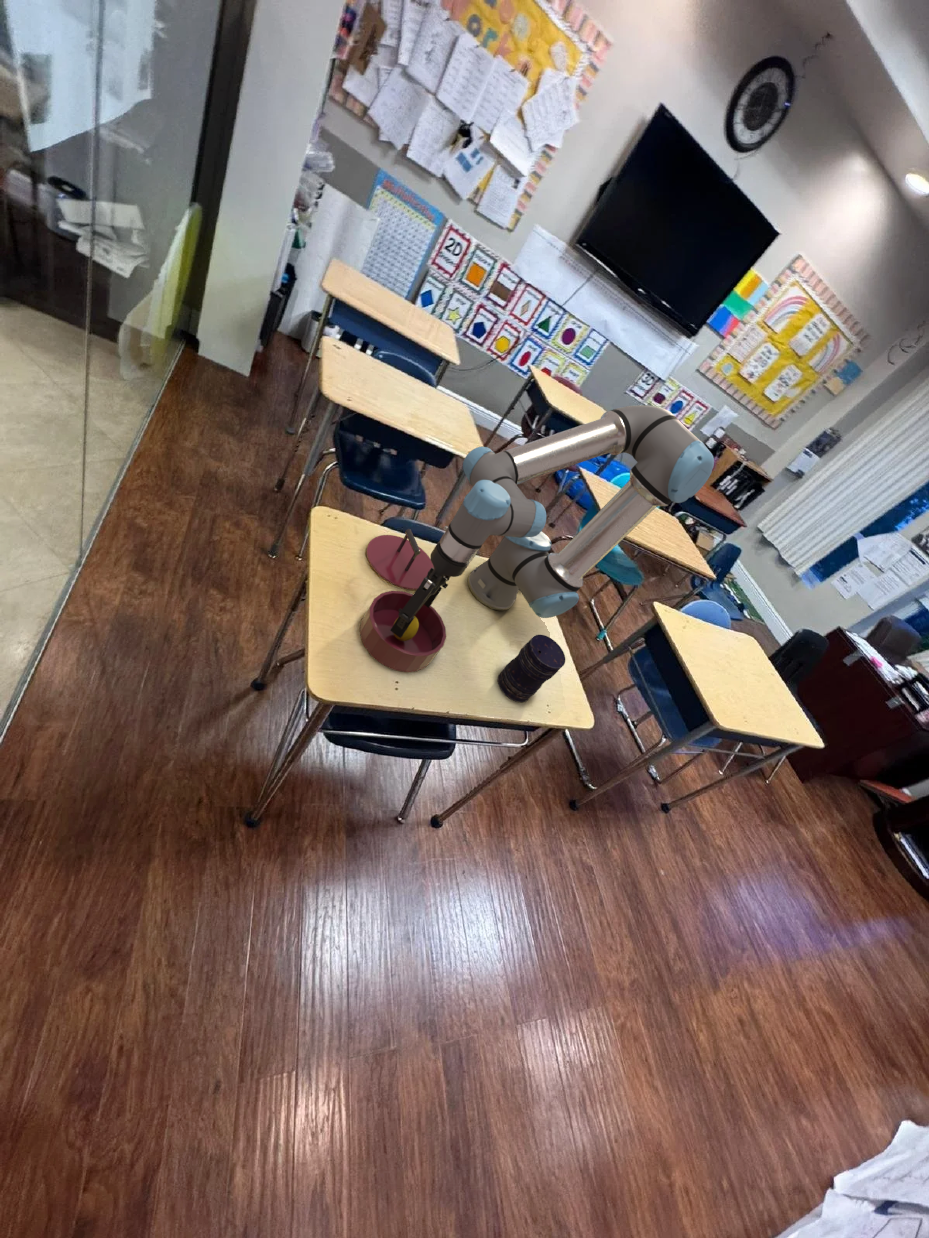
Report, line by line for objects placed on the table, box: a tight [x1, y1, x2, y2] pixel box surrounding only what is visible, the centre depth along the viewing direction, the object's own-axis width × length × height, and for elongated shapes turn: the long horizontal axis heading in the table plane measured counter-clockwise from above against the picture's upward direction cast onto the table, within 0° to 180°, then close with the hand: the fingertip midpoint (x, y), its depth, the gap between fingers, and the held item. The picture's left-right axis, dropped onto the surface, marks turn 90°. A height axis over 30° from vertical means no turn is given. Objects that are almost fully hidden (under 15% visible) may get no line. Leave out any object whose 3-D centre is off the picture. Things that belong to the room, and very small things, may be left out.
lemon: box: [393, 616, 419, 641], centre depth 117 cm, size 6×6×8 cm
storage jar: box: [497, 634, 566, 703], centre depth 124 cm, size 10×10×15 cm
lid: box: [366, 528, 434, 591], centre depth 135 cm, size 20×20×9 cm
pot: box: [359, 590, 447, 673], centre depth 118 cm, size 19×19×6 cm
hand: (410, 618), depth 115 cm, fingers open, 13 cm apart
